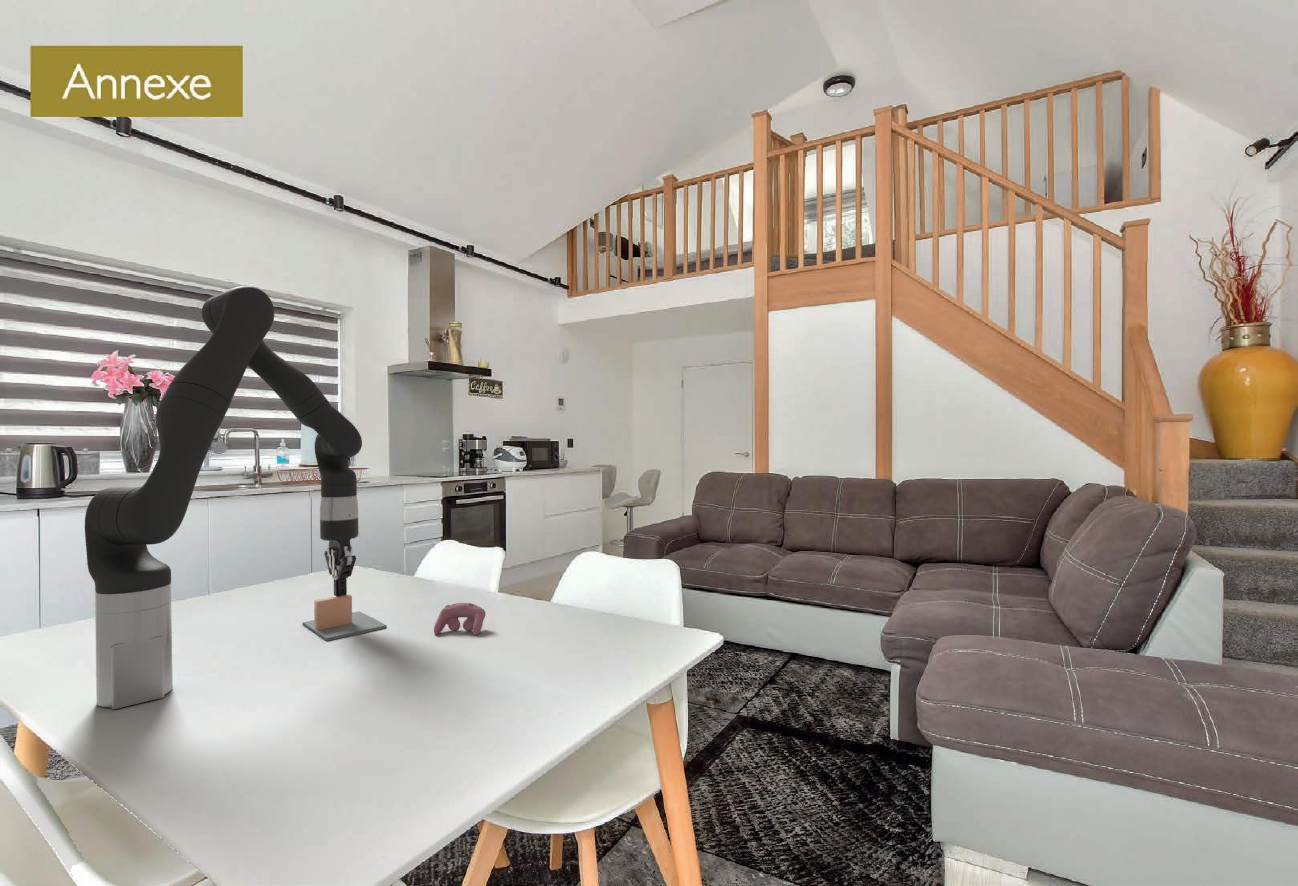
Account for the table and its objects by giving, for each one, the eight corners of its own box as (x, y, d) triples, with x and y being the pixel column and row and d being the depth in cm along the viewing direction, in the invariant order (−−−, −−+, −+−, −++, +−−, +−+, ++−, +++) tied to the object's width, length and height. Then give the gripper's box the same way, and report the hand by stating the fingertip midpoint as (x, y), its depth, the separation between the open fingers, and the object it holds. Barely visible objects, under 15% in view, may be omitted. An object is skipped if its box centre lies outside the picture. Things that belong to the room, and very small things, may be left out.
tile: (351, 595, 133) (316, 601, 128) (351, 623, 133) (316, 630, 128) (348, 594, 134) (314, 600, 129) (348, 621, 134) (314, 628, 129)
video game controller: (484, 638, 128) (489, 604, 131) (477, 634, 124) (482, 600, 127) (439, 637, 129) (445, 604, 132) (430, 634, 125) (436, 599, 128)
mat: (386, 627, 131) (386, 625, 131) (326, 641, 123) (326, 638, 123) (359, 613, 142) (359, 611, 142) (302, 625, 134) (302, 622, 134)
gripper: (368, 517, 132) (369, 597, 132) (346, 513, 141) (347, 588, 141) (331, 521, 126) (332, 604, 126) (311, 516, 136) (311, 594, 136)
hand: (340, 595), depth 134 cm, fingers closed
